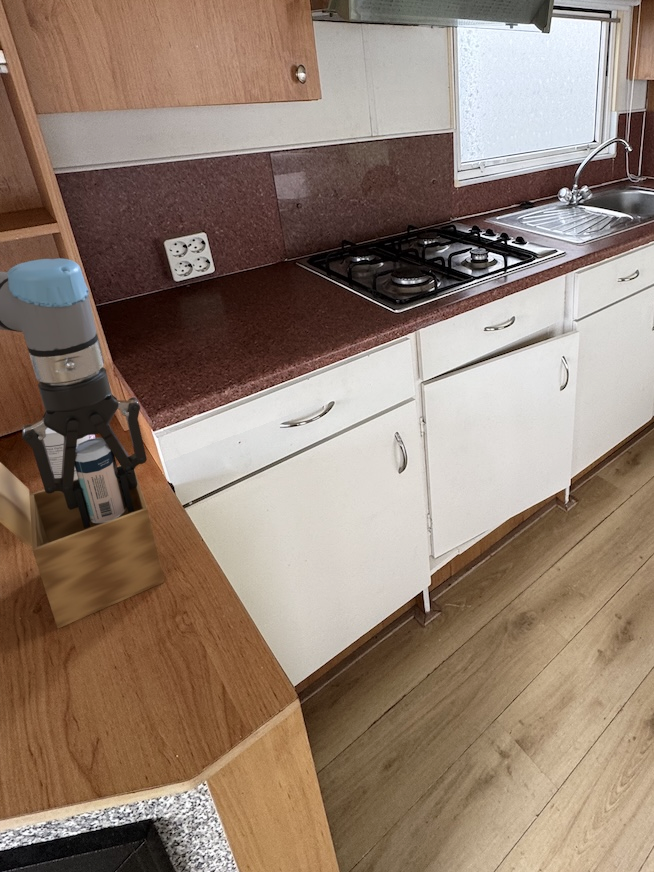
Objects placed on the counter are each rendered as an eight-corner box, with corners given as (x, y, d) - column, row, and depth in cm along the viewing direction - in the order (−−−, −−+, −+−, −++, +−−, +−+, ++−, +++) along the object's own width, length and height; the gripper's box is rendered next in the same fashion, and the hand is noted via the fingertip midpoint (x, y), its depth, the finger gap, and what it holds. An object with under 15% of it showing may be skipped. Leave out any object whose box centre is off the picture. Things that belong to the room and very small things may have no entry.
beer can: (135, 506, 87) (119, 438, 83) (109, 528, 83) (91, 457, 79) (107, 501, 88) (90, 434, 84) (81, 523, 84) (61, 453, 80)
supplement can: (43, 498, 104) (21, 426, 98) (94, 474, 110) (75, 405, 105) (65, 515, 100) (44, 441, 94) (116, 489, 106) (98, 418, 101)
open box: (57, 628, 79) (32, 550, 74) (51, 566, 89) (29, 494, 85) (164, 582, 87) (147, 508, 82) (147, 529, 97) (131, 461, 92)
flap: (32, 545, 74) (29, 547, 74) (29, 489, 84) (26, 491, 84) (-3, 514, 71) (-6, 517, 71) (-2, 460, 81) (-5, 462, 81)
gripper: (-16, 405, 70) (34, 557, 78) (152, 366, 80) (180, 503, 88) (-14, 382, 75) (32, 526, 83) (143, 347, 86) (170, 478, 94)
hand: (108, 514), depth 86 cm, fingers closed on beer can, 5 cm apart
